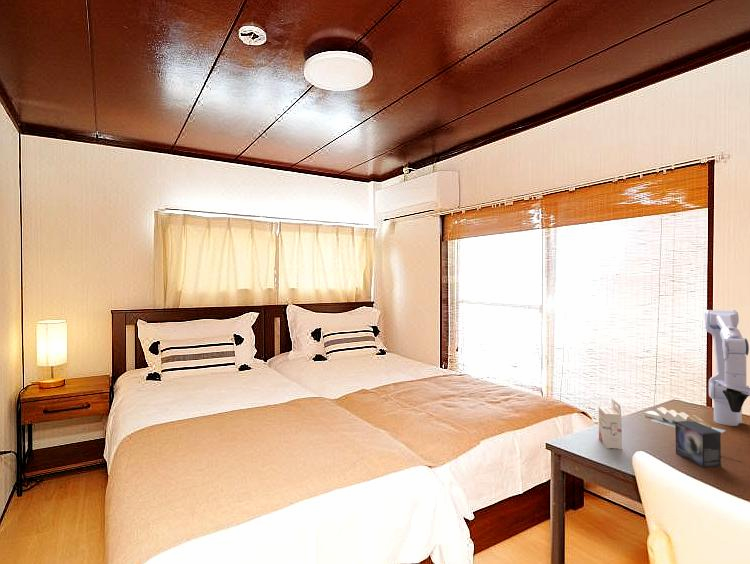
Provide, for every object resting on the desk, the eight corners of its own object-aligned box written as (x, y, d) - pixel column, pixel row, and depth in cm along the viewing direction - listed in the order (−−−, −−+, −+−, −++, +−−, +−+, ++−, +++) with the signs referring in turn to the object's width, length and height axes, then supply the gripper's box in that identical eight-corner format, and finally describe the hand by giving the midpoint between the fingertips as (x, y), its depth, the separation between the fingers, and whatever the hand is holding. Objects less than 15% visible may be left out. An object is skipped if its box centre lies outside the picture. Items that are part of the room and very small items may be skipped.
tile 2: (698, 426, 155) (681, 414, 160) (700, 423, 155) (682, 411, 160) (693, 429, 153) (675, 416, 158) (695, 425, 153) (676, 413, 158)
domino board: (666, 417, 169) (666, 415, 169) (726, 432, 151) (726, 430, 151) (649, 422, 163) (649, 420, 163) (711, 439, 145) (711, 437, 145)
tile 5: (668, 418, 164) (650, 414, 170) (668, 415, 164) (650, 410, 170) (662, 420, 162) (644, 416, 168) (662, 416, 162) (644, 412, 168)
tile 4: (677, 421, 162) (660, 409, 167) (679, 418, 161) (662, 406, 166) (671, 423, 160) (654, 411, 165) (673, 420, 159) (656, 408, 164)
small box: (673, 453, 135) (673, 420, 135) (692, 452, 136) (692, 419, 135) (702, 468, 124) (701, 432, 124) (722, 466, 125) (722, 431, 125)
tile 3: (688, 423, 158) (670, 412, 164) (690, 420, 158) (672, 409, 163) (682, 426, 156) (664, 414, 161) (684, 423, 156) (666, 411, 161)
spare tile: (710, 429, 152) (691, 417, 157) (712, 426, 152) (693, 414, 157) (704, 432, 150) (685, 419, 155) (706, 428, 150) (687, 416, 155)
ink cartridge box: (597, 438, 148) (597, 397, 147) (613, 439, 147) (612, 397, 146) (606, 448, 139) (605, 404, 139) (622, 449, 138) (622, 405, 138)
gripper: (766, 377, 138) (766, 418, 138) (729, 368, 153) (729, 405, 153) (744, 378, 138) (745, 418, 138) (710, 368, 153) (710, 405, 153)
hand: (735, 411), depth 146 cm, fingers closed
